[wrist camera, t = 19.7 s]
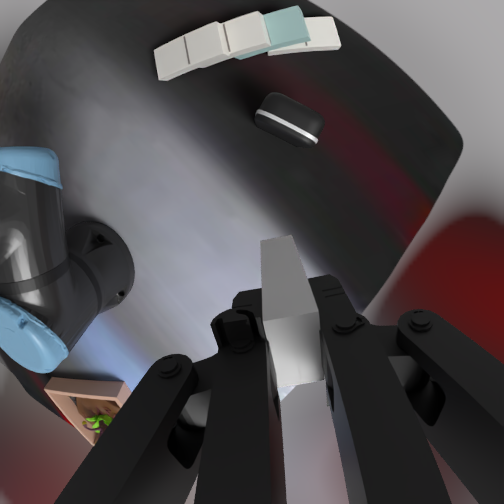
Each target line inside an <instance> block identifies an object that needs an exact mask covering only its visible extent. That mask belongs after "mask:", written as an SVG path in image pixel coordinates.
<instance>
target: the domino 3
mask: <svg viewBox="0 0 504 504" xmlns="http://www.w3.org/2000/svg"><path fill="white" fill-rule="evenodd" d="M263 17H264V21H265V24H266V28H267V32H268V36H269V39H270V43H271V47H267V48H263V49H259V50H256V51H252V52H249V53H246V54H243V55H239V56H236V57H234V58H237V59H239V60H241V59H244V58H247V57H251V56H254V55H257V54H260V53H264V52H267V51H271V50H275V49H278V48H282V47H286V46H290V45H294V44H299V43H303V42H308V41H311V39H310V35H309V32H308V29H307V26H306V23H305V20H304V17H303V14H302V11H301V9H300V8H299V7H298V6H294V7H290V8H286V9H282V10H279V11H275V12H271V13H268V14H265V15H263Z"/></svg>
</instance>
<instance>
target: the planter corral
mask: <svg viewBox="0 0 504 504" xmlns="http://www.w3.org/2000/svg"><path fill="white" fill-rule="evenodd" d="M44 390H45V391H46V393H47V394H48V395H49V396H50V398H51V399H52V400H53V402H54V403H55V404H56V405H57V407H58V408H59V409H60V410H61V411H62V413H63V414H64V415H65V416H66V417H67V418H68V420H69V421H70V422H71V423H72V424H73V425H74V426H75V428H76V429H77V430H78V431H79V432H80V433H81V434H82V435H83V436H84V437H85V438H86V439H87V440H88V441H89V442H90V443H91V444H92V445H93V446H94V445H95V443H96V442H97V440H98V437H99V433H96V432H95V431H90V430H88V429H86V428H84V426H83V425H82V422H83V421H86V420H85V419H84V418H83V417H82V416H81V415H80V414H79V413H78V410H77V406H76V405H75V404H74V403H73V401H72V400H71V399H70V398H69V396H74V397H81V398H90V399H100V400H112V401H116V403H117V404H118V405H119V407H120V408H121V407H122V406H123V404H124V403H125V402H126V400H127V399H128V397H129V396H130V395H131V391H130V390H129V388H128V387H127V385H126V383H125V382H119V381H94V380H79V379H67V378H57V377H52V378H51V379H50V381H49V382H48V383H47V385H46V386H45V388H44ZM86 422H87V421H86ZM87 427H88V428H91V429H93V428H92V424H90V423H89V422H87Z"/></svg>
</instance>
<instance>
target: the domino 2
mask: <svg viewBox="0 0 504 504" xmlns="http://www.w3.org/2000/svg"><path fill="white" fill-rule="evenodd" d="M221 24H222V25H223V28H224V33H225V37H226V41H227V46H228V50H229V54H230V56H229V57H226V58H223V59H220V60H218V61H215V62H212V63H209V64H207V65H204V66H201V67H200V68H205V67H208V66H210V65H213V64H216V63H219V62H221V61H224V60H227V59H230V58H233V57H236V56H239V55H243V54H246V53H249V52H252V51H256V50H259V49H263V48H267V47H271V43H270V39H269V36H268V32H267V28H266V24H265V21H264V17H263V15H262V14H261V13H260V12H258V11H256V12H253V13H250V14H246V15H243V16H240V17H238V18H235V19H232V20H229V21H226V22H224V23H221Z"/></svg>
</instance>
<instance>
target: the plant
mask: <svg viewBox="0 0 504 504" xmlns="http://www.w3.org/2000/svg"><path fill="white" fill-rule="evenodd" d="M76 402H77V410H78V413H79V414H80V415H81V416H82V417H83V418H84V419H85V420H86V421H87V422H89V423H90V424H92V425H93V426H92V428H93V429H91V428H88V427H87V422H86V421H83V422H82V425H83V426H84V428H86V429H88V430H90V431H95V432H96V433H99V437H98V439H99V438H100V437H101V435H102V434H103V432H104V431H105V429H106V428H107V427H108V425H109V424H110V422H111V421H112V420H113V418H114V417H115V415H116V414H117V413H118V411H119V410H120V407H119V405H118V404H117V403H116V401H112V400H100V399H90V398H81V397H76ZM97 441H98V440H97ZM95 444H96V443H95Z"/></svg>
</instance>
